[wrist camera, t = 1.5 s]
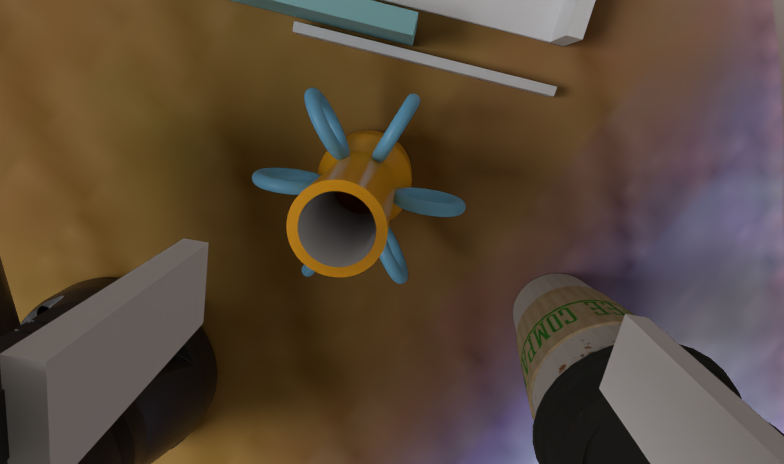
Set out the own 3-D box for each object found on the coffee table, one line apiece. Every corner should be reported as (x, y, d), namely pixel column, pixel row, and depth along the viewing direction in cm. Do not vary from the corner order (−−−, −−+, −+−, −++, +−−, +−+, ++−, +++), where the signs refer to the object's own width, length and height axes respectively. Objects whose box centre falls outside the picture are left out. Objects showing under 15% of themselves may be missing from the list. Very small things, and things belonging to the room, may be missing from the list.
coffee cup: (583, 225, 33) (719, 322, 18) (641, 330, 35) (804, 491, 20) (464, 291, 35) (503, 428, 20) (526, 388, 37) (601, 573, 22)
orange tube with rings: (263, 124, 32) (141, 144, 17) (399, 55, 30) (389, 15, 16) (342, 274, 35) (293, 398, 20) (470, 218, 33) (516, 310, 19)
